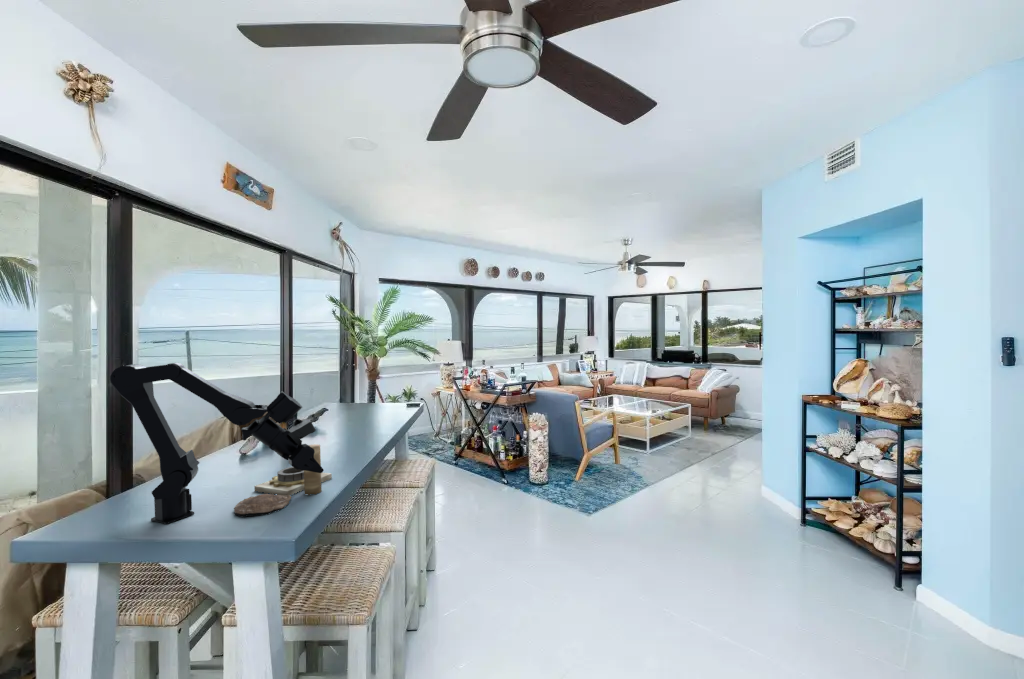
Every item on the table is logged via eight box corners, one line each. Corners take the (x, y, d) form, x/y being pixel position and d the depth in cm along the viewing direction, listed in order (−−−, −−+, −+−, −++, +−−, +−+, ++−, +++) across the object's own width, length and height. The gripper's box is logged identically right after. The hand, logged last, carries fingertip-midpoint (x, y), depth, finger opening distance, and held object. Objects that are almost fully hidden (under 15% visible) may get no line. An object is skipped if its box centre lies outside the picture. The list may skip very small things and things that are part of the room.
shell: (283, 515, 110) (283, 500, 110) (226, 521, 107) (225, 507, 107) (293, 498, 121) (293, 485, 121) (241, 504, 118) (240, 490, 118)
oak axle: (312, 495, 122) (311, 448, 122) (300, 493, 124) (299, 447, 123) (325, 490, 126) (323, 445, 126) (313, 488, 128) (312, 443, 128)
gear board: (287, 496, 122) (287, 481, 122) (254, 491, 127) (254, 476, 127) (331, 478, 137) (331, 464, 136) (300, 474, 142) (300, 460, 141)
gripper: (304, 416, 115) (348, 450, 122) (287, 407, 129) (327, 438, 136) (271, 452, 110) (319, 485, 117) (257, 439, 124) (300, 469, 131)
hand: (317, 467), depth 126 cm, fingers open, 9 cm apart
